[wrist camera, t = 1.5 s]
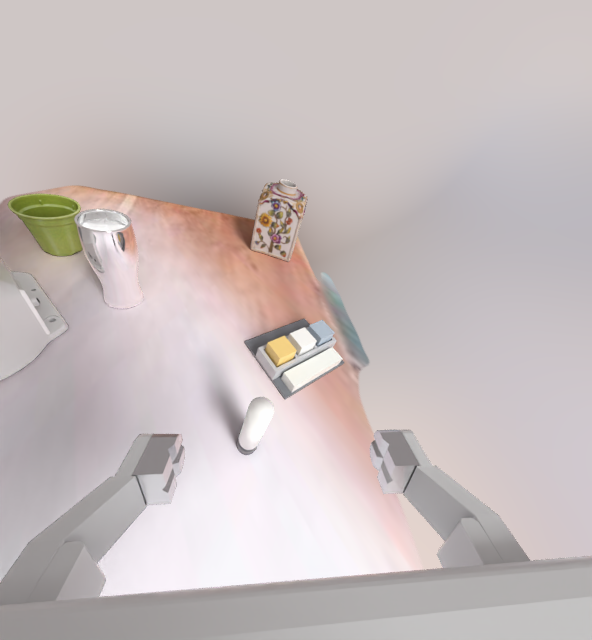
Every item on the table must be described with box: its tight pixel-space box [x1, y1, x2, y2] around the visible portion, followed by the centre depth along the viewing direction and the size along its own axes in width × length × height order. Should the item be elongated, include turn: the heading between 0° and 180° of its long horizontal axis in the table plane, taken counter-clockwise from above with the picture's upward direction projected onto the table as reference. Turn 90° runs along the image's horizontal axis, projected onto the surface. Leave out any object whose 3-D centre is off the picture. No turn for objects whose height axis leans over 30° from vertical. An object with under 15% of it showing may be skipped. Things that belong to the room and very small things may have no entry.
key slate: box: [307, 320, 334, 347], centre depth 48 cm, size 4×4×3 cm
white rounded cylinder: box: [237, 397, 274, 455], centre depth 30 cm, size 3×3×11 cm
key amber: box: [265, 336, 297, 367], centre depth 42 cm, size 4×4×3 cm
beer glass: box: [74, 209, 144, 309], centre depth 40 cm, size 7×7×15 cm
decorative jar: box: [251, 179, 307, 262], centre depth 67 cm, size 12×12×18 cm
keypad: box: [245, 319, 344, 399], centre depth 46 cm, size 13×15×3 cm
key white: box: [288, 327, 317, 357], centre depth 45 cm, size 4×4×3 cm
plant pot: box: [8, 194, 82, 256], centre depth 47 cm, size 9×9×9 cm
